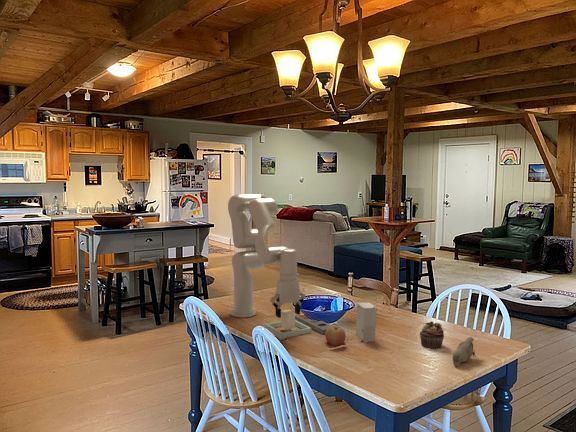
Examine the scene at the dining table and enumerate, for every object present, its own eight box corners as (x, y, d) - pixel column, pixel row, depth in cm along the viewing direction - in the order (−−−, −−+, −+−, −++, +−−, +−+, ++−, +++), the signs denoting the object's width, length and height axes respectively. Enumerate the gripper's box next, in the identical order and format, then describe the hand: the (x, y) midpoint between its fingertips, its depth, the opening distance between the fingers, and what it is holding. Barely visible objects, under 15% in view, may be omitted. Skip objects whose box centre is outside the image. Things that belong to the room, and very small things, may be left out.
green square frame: (264, 330, 212) (264, 323, 212) (293, 325, 220) (293, 319, 220) (281, 340, 200) (281, 333, 199) (311, 334, 207) (311, 328, 207)
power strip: (286, 318, 232) (286, 310, 231) (298, 316, 235) (298, 308, 235) (322, 336, 205) (323, 328, 205) (336, 334, 209) (336, 326, 208)
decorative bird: (447, 366, 175) (448, 346, 174) (463, 353, 187) (464, 335, 186) (462, 369, 171) (463, 349, 171) (477, 357, 183) (478, 338, 183)
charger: (281, 330, 211) (281, 311, 210) (288, 329, 213) (289, 309, 212) (287, 333, 207) (287, 313, 206) (294, 332, 209) (295, 312, 208)
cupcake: (445, 344, 197) (446, 321, 196) (440, 351, 188) (441, 327, 188) (422, 340, 202) (423, 317, 201) (416, 347, 193) (417, 323, 192)
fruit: (329, 349, 190) (329, 330, 189) (322, 342, 198) (323, 324, 197) (348, 347, 192) (348, 328, 191) (340, 341, 200) (341, 322, 199)
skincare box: (355, 336, 206) (356, 302, 205) (368, 335, 208) (368, 301, 206) (362, 342, 198) (363, 307, 197) (376, 341, 200) (377, 306, 198)
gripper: (300, 273, 215) (300, 310, 217) (266, 277, 207) (266, 316, 208) (309, 276, 209) (309, 314, 210) (275, 280, 200) (274, 320, 202)
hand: (287, 315), depth 209 cm, fingers open, 9 cm apart
